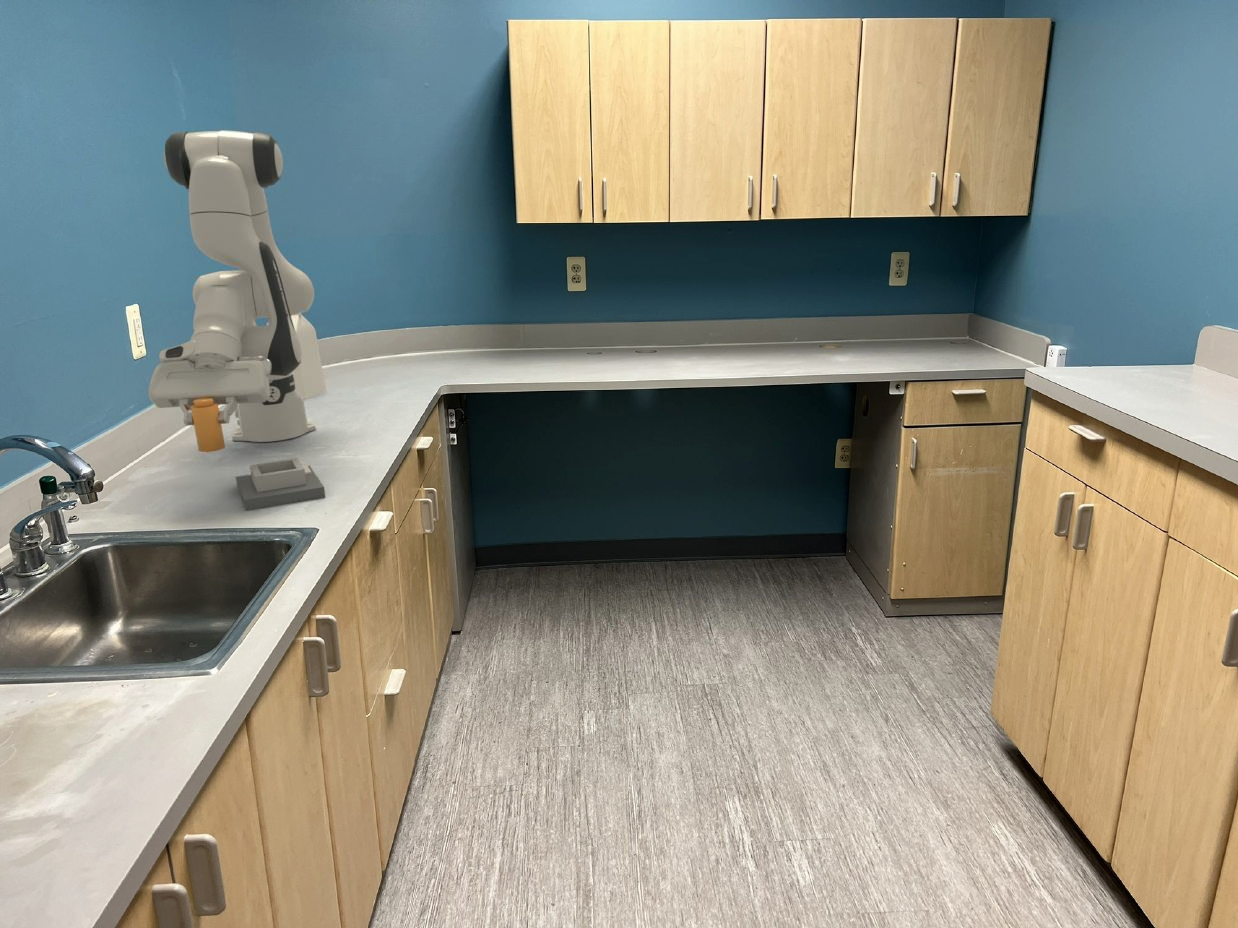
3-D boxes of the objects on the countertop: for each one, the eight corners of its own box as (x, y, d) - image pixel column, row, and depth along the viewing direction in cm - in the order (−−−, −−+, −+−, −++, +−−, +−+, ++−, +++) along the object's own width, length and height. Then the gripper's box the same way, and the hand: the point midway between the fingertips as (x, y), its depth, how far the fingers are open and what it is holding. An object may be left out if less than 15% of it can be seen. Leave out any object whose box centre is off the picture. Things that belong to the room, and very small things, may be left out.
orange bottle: (198, 447, 157) (189, 399, 154) (224, 443, 159) (216, 396, 156) (199, 453, 153) (190, 404, 151) (225, 449, 155) (217, 400, 153)
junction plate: (237, 486, 171) (233, 462, 169) (310, 474, 177) (307, 451, 176) (246, 510, 157) (241, 484, 156) (325, 496, 164) (322, 471, 162)
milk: (326, 391, 256) (315, 302, 248) (305, 399, 245) (293, 307, 237) (289, 390, 258) (277, 302, 250) (267, 398, 247) (254, 307, 240)
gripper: (277, 365, 164) (271, 428, 158) (164, 371, 162) (154, 435, 156) (267, 346, 159) (261, 410, 152) (150, 351, 157) (139, 417, 150)
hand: (206, 423), depth 154 cm, fingers closed on orange bottle, 4 cm apart
